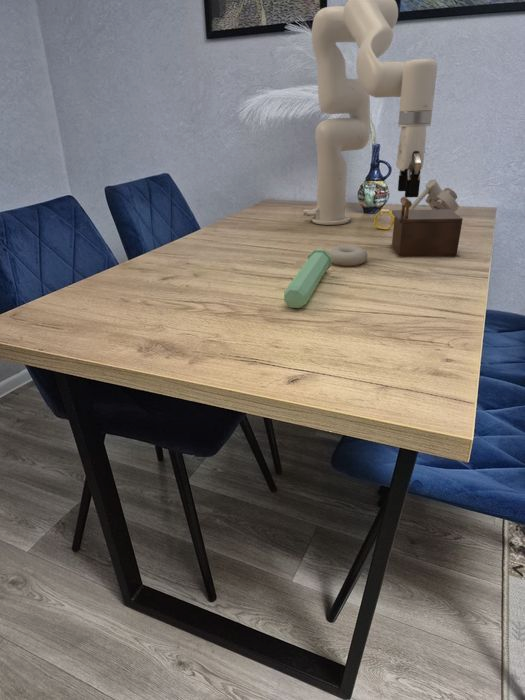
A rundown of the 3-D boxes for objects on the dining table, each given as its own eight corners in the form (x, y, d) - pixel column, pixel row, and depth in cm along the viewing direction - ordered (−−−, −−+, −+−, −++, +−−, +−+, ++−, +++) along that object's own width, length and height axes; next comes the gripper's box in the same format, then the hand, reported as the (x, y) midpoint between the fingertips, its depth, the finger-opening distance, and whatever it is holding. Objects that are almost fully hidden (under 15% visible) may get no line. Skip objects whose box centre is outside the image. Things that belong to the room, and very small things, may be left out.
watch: (372, 229, 150) (374, 210, 147) (375, 227, 152) (376, 208, 149) (391, 230, 147) (393, 211, 144) (393, 228, 149) (395, 209, 146)
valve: (409, 245, 166) (387, 215, 159) (447, 203, 165) (427, 170, 158) (428, 250, 157) (406, 218, 150) (468, 205, 157) (448, 171, 149)
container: (301, 282, 90) (326, 245, 111) (274, 290, 93) (304, 253, 113) (312, 309, 92) (335, 268, 113) (285, 317, 95) (313, 275, 115)
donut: (352, 270, 114) (374, 260, 121) (353, 257, 113) (375, 247, 119) (319, 263, 121) (341, 253, 127) (319, 250, 119) (342, 241, 125)
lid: (399, 222, 119) (401, 203, 116) (391, 213, 129) (393, 194, 127) (462, 221, 117) (465, 201, 115) (449, 212, 128) (452, 193, 125)
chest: (398, 256, 123) (402, 222, 119) (391, 245, 133) (394, 213, 129) (456, 256, 121) (462, 222, 117) (444, 244, 132) (449, 212, 128)
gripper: (392, 119, 121) (387, 189, 129) (405, 121, 105) (398, 200, 113) (422, 118, 120) (415, 188, 128) (440, 119, 105) (430, 199, 113)
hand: (407, 193), depth 121 cm, fingers open, 9 cm apart
